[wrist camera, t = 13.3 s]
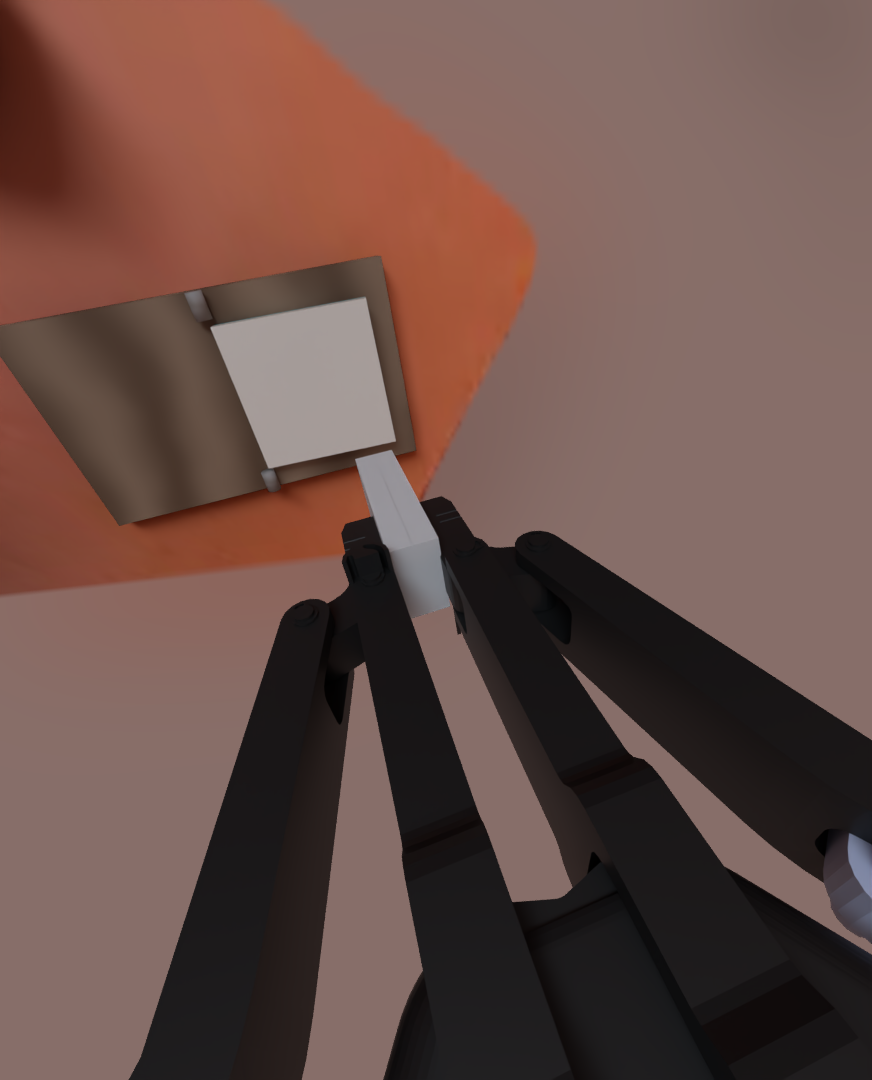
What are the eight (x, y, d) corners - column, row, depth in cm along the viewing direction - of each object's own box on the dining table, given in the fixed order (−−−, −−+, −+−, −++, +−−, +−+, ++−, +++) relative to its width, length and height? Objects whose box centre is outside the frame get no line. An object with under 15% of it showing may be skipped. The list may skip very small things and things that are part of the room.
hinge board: (125, 516, 35) (115, 532, 33) (-5, 326, 26) (-28, 333, 24) (412, 443, 38) (419, 454, 36) (377, 255, 30) (383, 256, 28)
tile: (396, 441, 34) (394, 436, 35) (365, 298, 28) (365, 296, 29) (268, 468, 33) (270, 463, 34) (210, 327, 27) (213, 324, 28)
